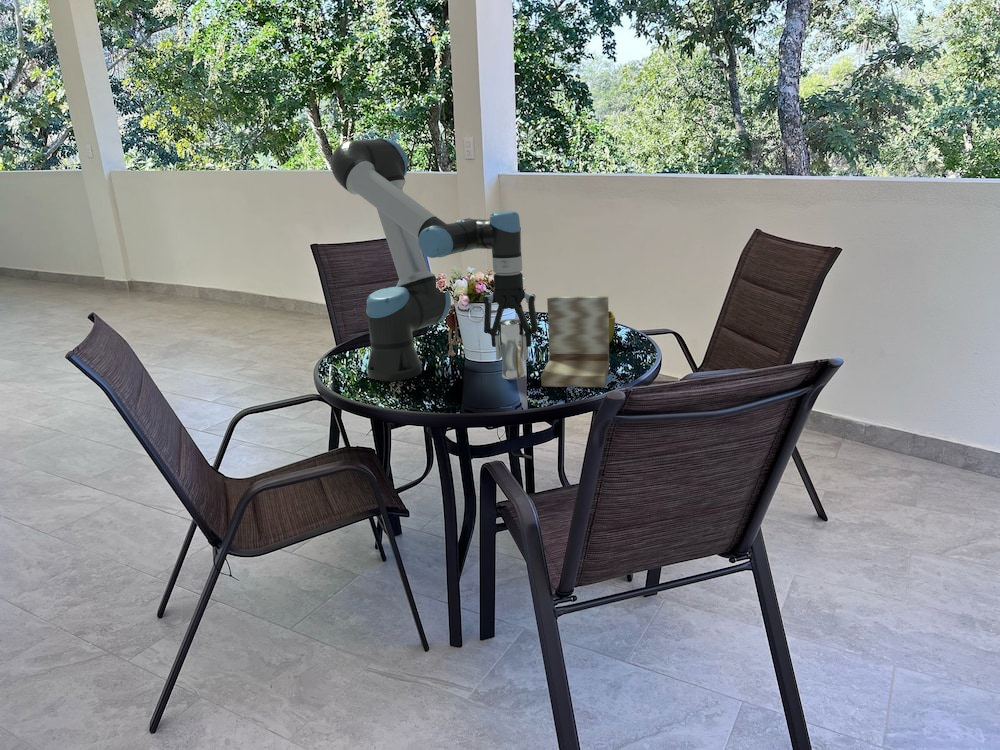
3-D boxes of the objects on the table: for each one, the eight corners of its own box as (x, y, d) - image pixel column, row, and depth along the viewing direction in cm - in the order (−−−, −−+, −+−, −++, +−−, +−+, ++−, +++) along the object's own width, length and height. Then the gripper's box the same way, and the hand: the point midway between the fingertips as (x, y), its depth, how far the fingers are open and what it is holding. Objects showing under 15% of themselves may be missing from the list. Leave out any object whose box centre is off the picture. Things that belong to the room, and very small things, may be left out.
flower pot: (615, 347, 227) (615, 317, 224) (586, 348, 227) (585, 319, 224) (612, 339, 235) (611, 310, 232) (583, 340, 235) (583, 312, 233)
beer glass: (508, 371, 209) (505, 318, 205) (530, 373, 206) (528, 319, 201) (495, 378, 204) (492, 324, 199) (518, 381, 200) (515, 325, 196)
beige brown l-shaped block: (541, 386, 195) (538, 310, 189) (550, 368, 210) (548, 296, 204) (604, 387, 192) (603, 309, 186) (609, 368, 206) (608, 296, 200)
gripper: (467, 276, 195) (473, 362, 202) (543, 274, 191) (546, 362, 198) (474, 270, 202) (480, 354, 209) (547, 269, 198) (551, 354, 205)
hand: (512, 358), depth 203 cm, fingers closed on beer glass, 7 cm apart
